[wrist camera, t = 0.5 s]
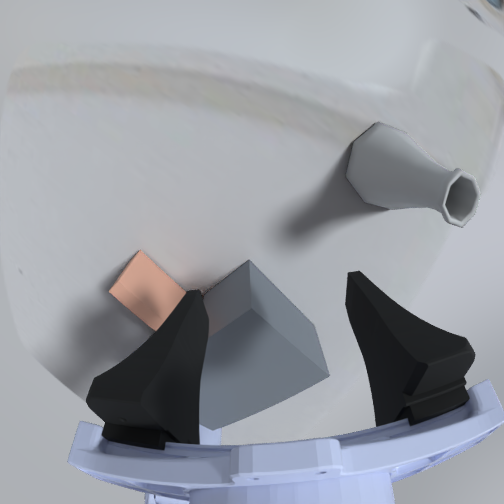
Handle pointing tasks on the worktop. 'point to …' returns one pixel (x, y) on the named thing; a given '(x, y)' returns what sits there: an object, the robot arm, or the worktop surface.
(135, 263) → the strip
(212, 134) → the worktop surface
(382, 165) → the flask
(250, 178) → the worktop surface
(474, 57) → the worktop surface
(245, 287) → the block
